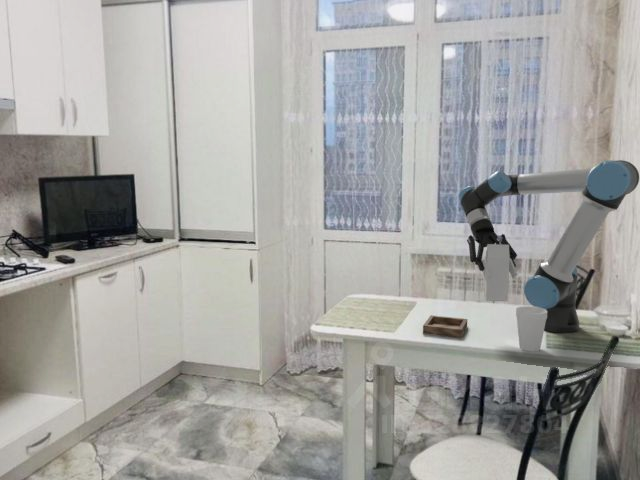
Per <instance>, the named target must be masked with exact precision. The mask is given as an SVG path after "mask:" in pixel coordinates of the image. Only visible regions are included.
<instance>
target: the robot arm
mask: <svg viewBox="0 0 640 480" xmlns="http://www.w3.org/2000/svg"><path fill="white" fill-rule="evenodd" d="M639 182H640V173H639V171H638V169H637V167H636V166H635V165H634V164H633V163H631V162H629V161H626V160H624V159H623V160H621V159H620V160H618V159H617V160H606V161H601V162H600V163H598V164H595V165H594V166H593V168H583V169H573V170H572V169H570V170H560V171H559V170H558V171H546V172H535V173H534V172H533V173H521V174H506V173H505V171H502V170H498V171H495V172H494V173H493V174H490V175H489V177H487V178H486V179H485V180H484V181H482V182H481V183H480V184H479V185H477V186H474V185H469V186H467V187H464V188H462V189H461V190H460V192H459V193H458V199H459V202H460V206H461V207H462V210H463V213H464V214H465V217H466V221H467V223H468V226H469V228H470V231H471V233H472V235H469V236H468V237H467V239H466V241H467V243H468V248H469V249H468V250H469V261H470V262H471V263H474V265H476V266H478V269H479V271H480V272H482V274H483V277H484V281H485V280H488V279H489V277H490V276H491V275H490V273H489V270H488V268H487V265H486V259H483V256H484V255H483V254H484V249H485V248H487V244H499V245H509V255H510V263H509V275H511V279H515V278H516V277H517V276H518V272H517V270H516V268H517V265H516V263H515V259H516V258H517V257H518V254H517V252H516V251H515V250H514V248H513V247H512V245H511V244H510V243H509V241H508V240H507V238H506V235H505V234H504V233H502V234H501V235H498V234H497V233H496V232H495V227H494V226H493V223H492V221H491V217H490V216H489V213H488V211H487V208H486V206H487V205H489V204H491V203H492V202H493V201H495V200H496V199H498V198H500V197H501V198H502V197H506V196H520V195H521V196H524V195H539V194H541V195H542V194H557V193H575V192H576V193H579V192H581V197H582V200H581V203H580V205H579V207H578V208H577V210H576V212H575V213H574V215H573V216H572V218H571V220H570V222H569V224H568V226H567V227H566V229H565V230H564V233H563V234H562V235H561V237H560V238H559V240H558V243H557V244H556V246H555V248H554V250H553V251H552V253H551V254H550V256H549V258H548V260H547V261H543V262H541V263H540V264H539V266H538V267H537V269H536V271H534V272H535V273H534V274H533V276H531V277H530V278H528V280H526V283H525V284H524V286H523V287H524V288H523V292H524V296H525V298H526V301H528V303H529V305H530V306H535V307H540V308H544V309H546V310H547V319H546V323H545V328H544V331H546V332H547V331H548V332H553V333H563V334H564V333H565V334H567V333H575V332H577V331H579V329H580V321H579V316H578V314H577V313H578V312H577V310H576V300H577V287H578V285H577V284H578V277H579V274H578V268H577V266H578V264H579V263H580V261H581V259H582V257H583V256H584V254H585V253H586V251H587V249H588V248H589V246H590V244H591V243H592V241H593V240H594V238H595V236H596V234H597V233H598V231H599V230H600V229H601V227H602V225H603V223H604V222H605V219H606V218H607V217H608V215H609V213H611V212H614V211H617V210H618V208H619V207H620V205H621V204H622V202H623V200H624V198H625V197H626V196H627V195H629V194H631V193H632V192H634V190H636V188H637V186H638V185H639ZM476 243H478V249H477V250H476ZM476 251H477V252H476Z"/></svg>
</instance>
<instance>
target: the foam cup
mask: <svg viewBox="0 0 640 480" xmlns="http://www.w3.org/2000/svg"><path fill="white" fill-rule="evenodd" d="M515 316H516V322H517V334H518V344H519V348H520V350H521V351H524V352H525V351H526V352H531V353H535V352H539V351H540V350H541V346H542V342H543V337H544V332H545V330H544V328H545V323H546V319H547V310H546V309H544V308H540V307H535V306H533V305H523V306H517V307H516V309H515Z"/></svg>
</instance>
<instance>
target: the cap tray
mask: <svg viewBox="0 0 640 480" xmlns="http://www.w3.org/2000/svg"><path fill="white" fill-rule="evenodd" d="M467 328H468V318H461V317H460V318H459V317H451V316H441V315H432V314H431V315H429V316H428V319H427V320H426V321H425V322H424V324H423V325H422V334H423V335H431V336H432V335H433V336H441V337H448V338H458V339H462V338H463V337H464V336H463V335H464V334H465V333H466V330H467Z"/></svg>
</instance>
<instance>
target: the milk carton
mask: <svg viewBox="0 0 640 480" xmlns="http://www.w3.org/2000/svg"><path fill="white" fill-rule="evenodd" d="M485 263H486V265H487V268H488V270H489V273H490V275H491V276H490V277H489V279H488V280H485V279H484V298H485V299H484V300H485V301H486V302H504V303H505V302H508V299H509V283H510V282H509V281H510V272H509V263H510V255H509V245H499V244H496V243H495V244H487V247H486V253H485Z"/></svg>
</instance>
